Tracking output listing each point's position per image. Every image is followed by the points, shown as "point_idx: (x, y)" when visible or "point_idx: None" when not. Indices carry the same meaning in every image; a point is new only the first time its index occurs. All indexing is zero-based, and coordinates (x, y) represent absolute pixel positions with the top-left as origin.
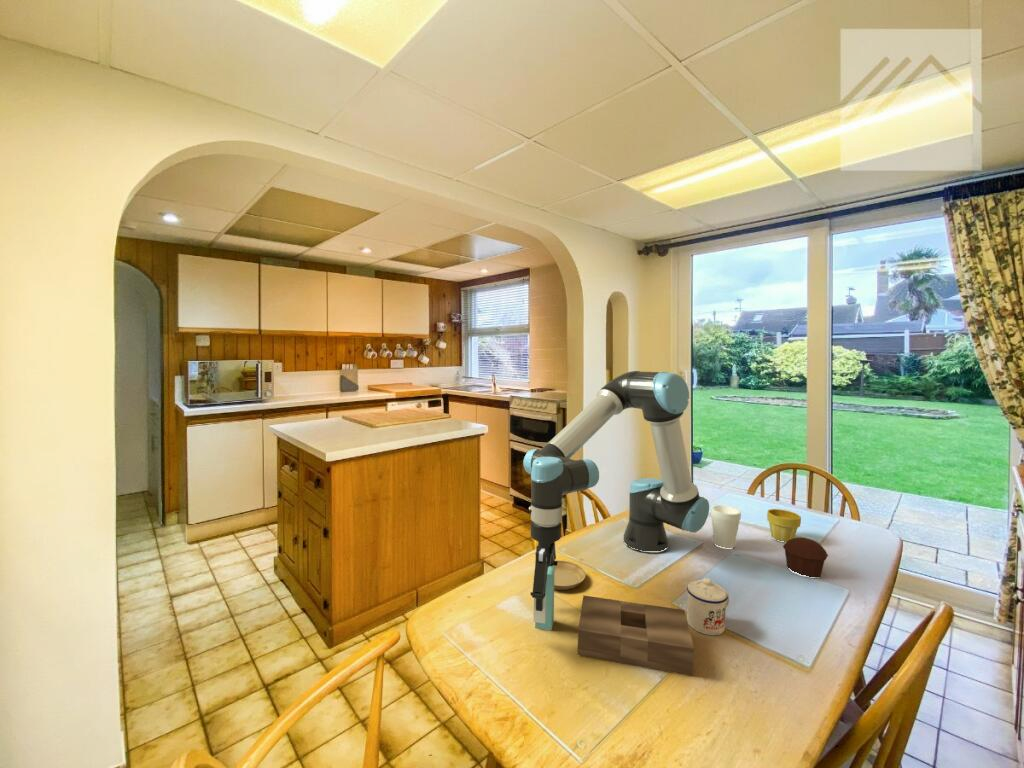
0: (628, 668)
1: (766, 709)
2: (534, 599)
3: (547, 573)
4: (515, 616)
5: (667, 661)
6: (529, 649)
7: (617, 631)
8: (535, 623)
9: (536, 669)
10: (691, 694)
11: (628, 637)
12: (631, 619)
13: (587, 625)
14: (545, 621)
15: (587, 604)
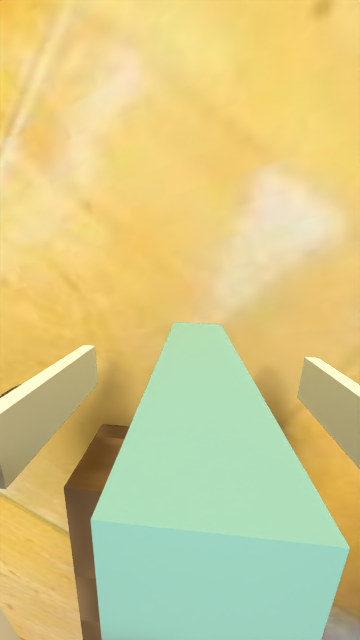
0: None
1: (79, 636)
2: (3, 399)
3: (118, 632)
4: (217, 253)
5: None
6: (87, 320)
7: (94, 571)
8: (172, 326)
9: (31, 345)
10: (73, 573)
11: (78, 589)
12: None
13: (92, 511)
14: (96, 384)
15: None
